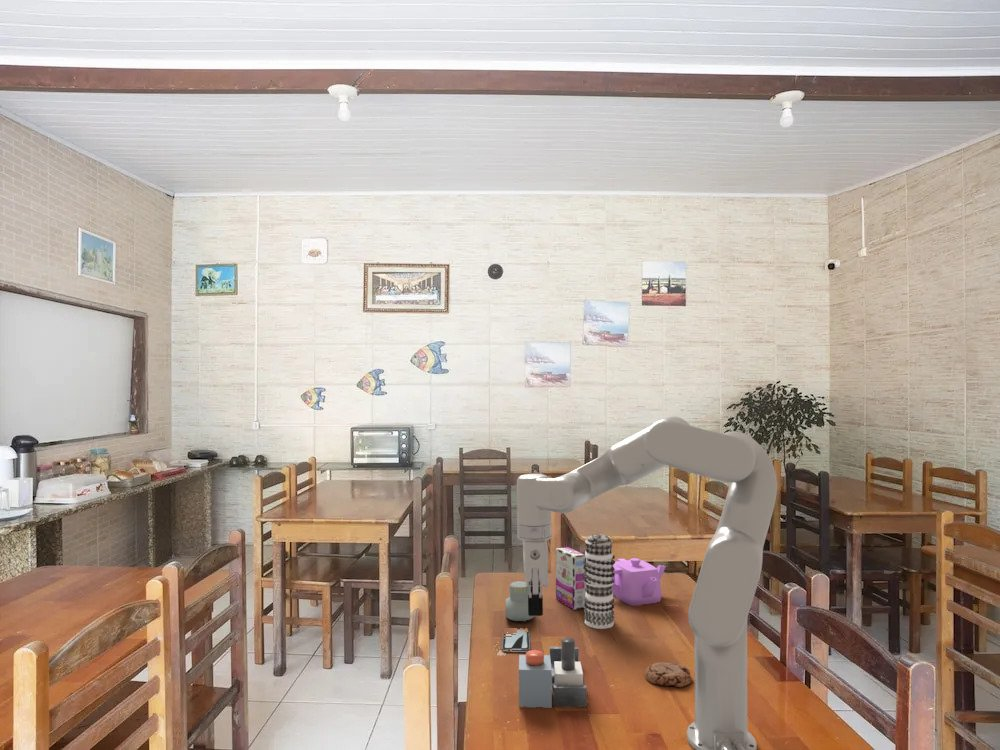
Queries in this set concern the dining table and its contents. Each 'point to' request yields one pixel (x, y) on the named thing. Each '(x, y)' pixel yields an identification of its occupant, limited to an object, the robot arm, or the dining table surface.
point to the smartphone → (517, 641)
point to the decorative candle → (599, 582)
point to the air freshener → (518, 602)
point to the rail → (567, 686)
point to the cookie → (668, 674)
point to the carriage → (567, 666)
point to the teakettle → (637, 581)
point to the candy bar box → (570, 577)
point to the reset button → (534, 657)
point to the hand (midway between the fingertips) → (535, 614)
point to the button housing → (535, 683)
